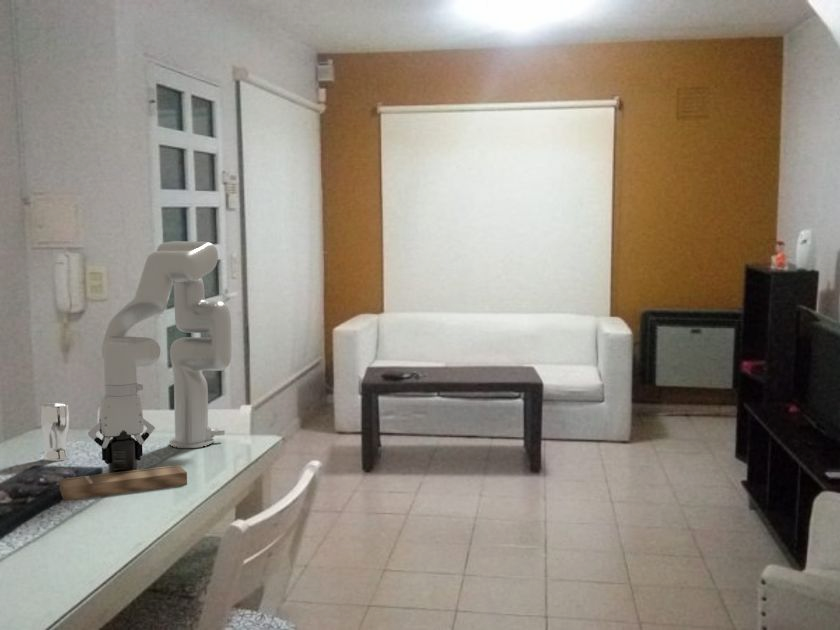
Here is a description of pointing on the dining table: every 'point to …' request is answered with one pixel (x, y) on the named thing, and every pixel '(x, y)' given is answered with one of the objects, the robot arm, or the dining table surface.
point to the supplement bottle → (122, 453)
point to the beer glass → (55, 430)
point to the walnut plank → (122, 482)
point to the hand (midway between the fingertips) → (122, 460)
